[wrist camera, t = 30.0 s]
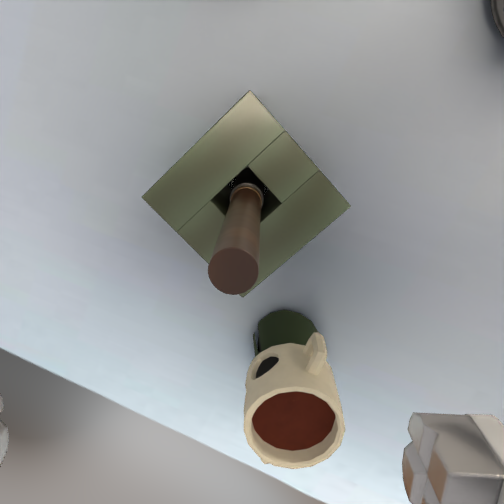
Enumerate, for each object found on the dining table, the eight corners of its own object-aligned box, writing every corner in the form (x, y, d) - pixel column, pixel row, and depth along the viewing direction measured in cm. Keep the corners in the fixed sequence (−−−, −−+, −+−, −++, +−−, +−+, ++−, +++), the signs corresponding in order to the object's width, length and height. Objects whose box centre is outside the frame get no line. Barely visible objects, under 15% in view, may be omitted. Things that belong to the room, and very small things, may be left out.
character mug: (273, 274, 41) (277, 347, 28) (343, 302, 41) (376, 384, 29) (230, 368, 44) (218, 470, 32) (296, 392, 45) (308, 501, 32)
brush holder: (331, 184, 38) (351, 206, 29) (247, 257, 40) (242, 298, 32) (253, 93, 36) (249, 89, 27) (168, 177, 38) (141, 197, 30)
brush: (260, 164, 38) (256, 236, 17) (266, 191, 38) (269, 293, 17) (233, 170, 38) (195, 249, 17) (239, 197, 39) (211, 304, 18)
